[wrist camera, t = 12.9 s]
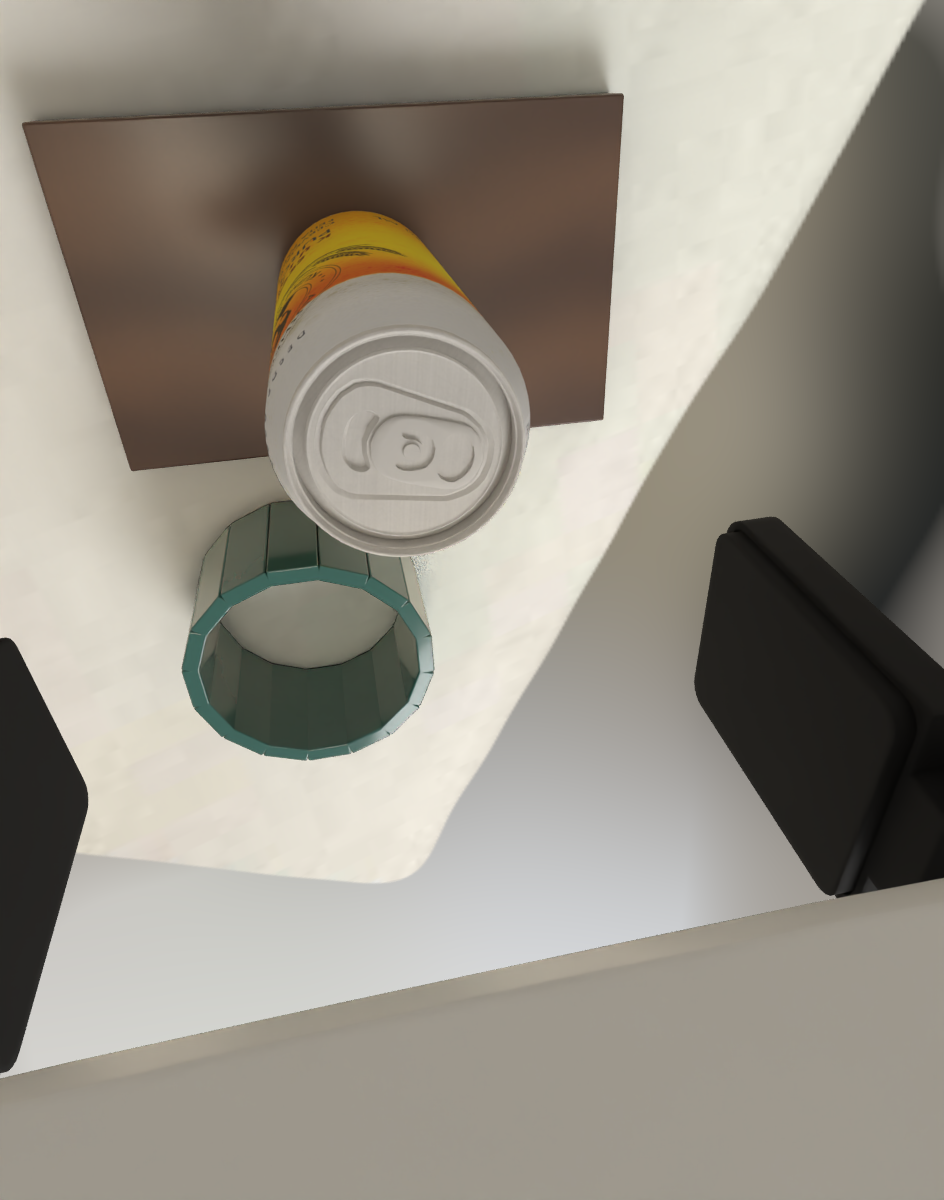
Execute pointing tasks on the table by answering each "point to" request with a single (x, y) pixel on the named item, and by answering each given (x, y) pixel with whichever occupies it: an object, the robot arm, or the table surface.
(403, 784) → the table surface
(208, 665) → the crock
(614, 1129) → the robot arm
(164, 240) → the board
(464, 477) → the beer can
